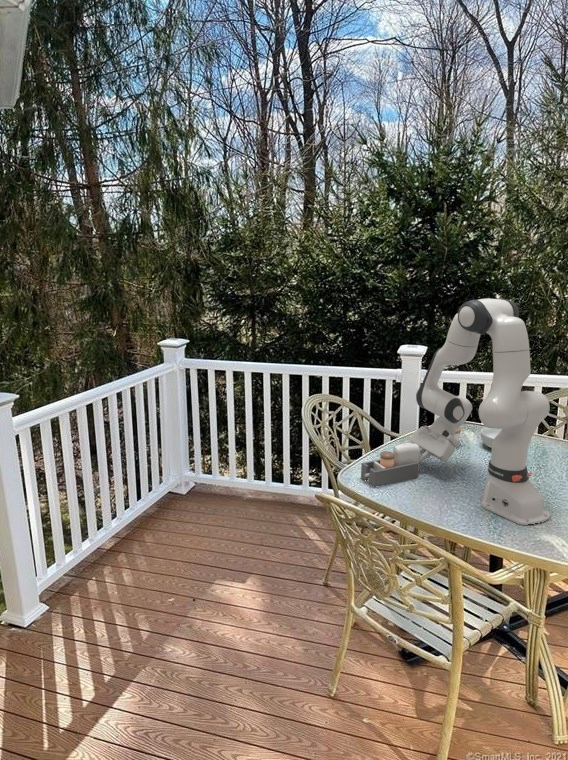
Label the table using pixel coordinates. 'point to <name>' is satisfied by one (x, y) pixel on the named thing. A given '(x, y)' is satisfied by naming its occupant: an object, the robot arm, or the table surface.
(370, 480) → the lane
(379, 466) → the pusher
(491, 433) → the cereal bowl
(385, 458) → the jar
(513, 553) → the table surface
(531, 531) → the table surface
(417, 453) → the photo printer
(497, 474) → the robot arm
